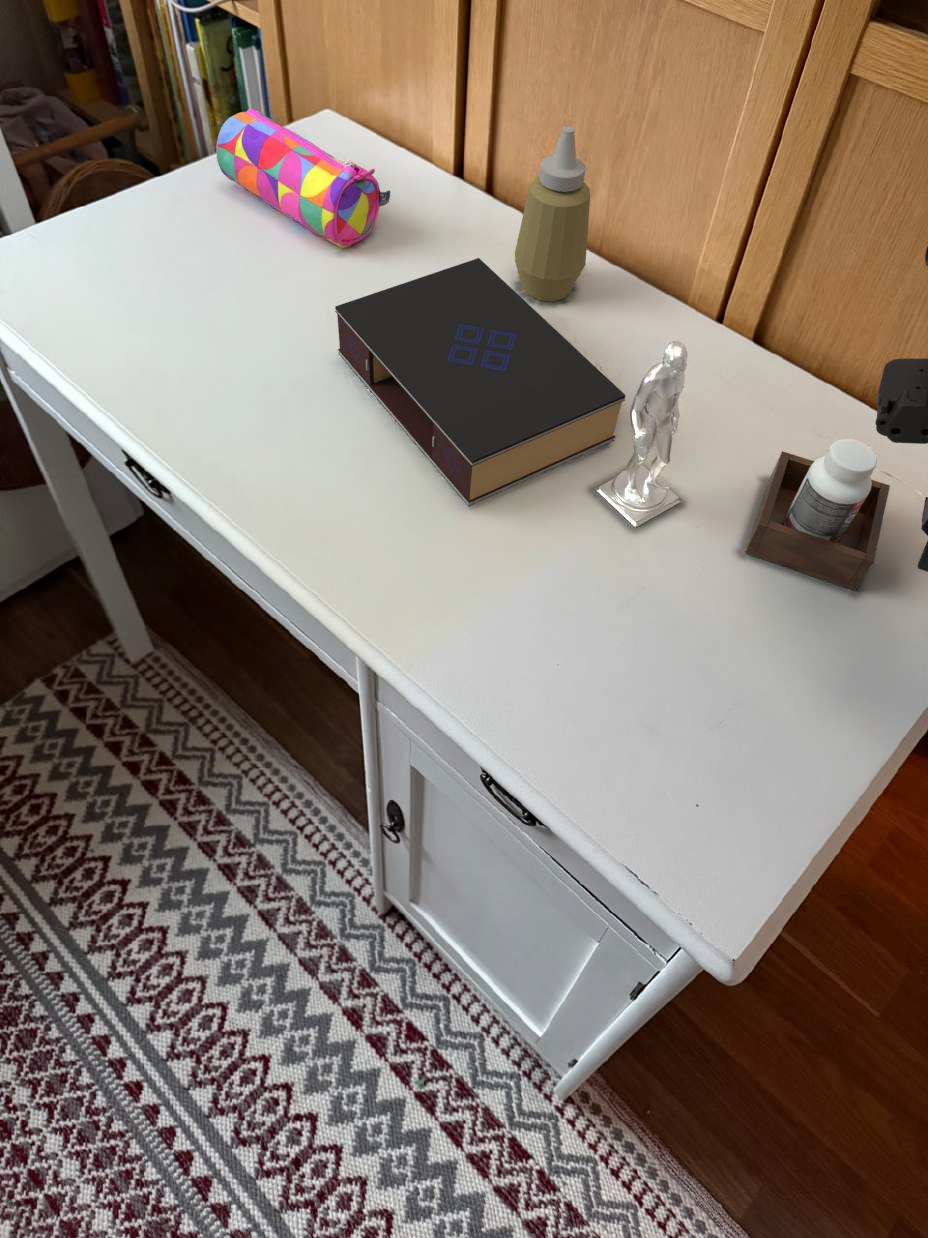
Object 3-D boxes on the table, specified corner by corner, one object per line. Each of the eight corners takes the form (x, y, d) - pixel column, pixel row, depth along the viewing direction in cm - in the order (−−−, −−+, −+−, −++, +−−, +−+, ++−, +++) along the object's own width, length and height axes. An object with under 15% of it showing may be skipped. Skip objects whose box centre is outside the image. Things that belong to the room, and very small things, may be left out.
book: (467, 512, 84) (471, 461, 79) (338, 359, 96) (334, 306, 90) (613, 446, 90) (626, 394, 85) (475, 310, 102) (479, 257, 96)
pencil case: (396, 229, 110) (395, 155, 103) (342, 263, 106) (337, 188, 98) (269, 163, 117) (260, 90, 110) (214, 192, 113) (201, 118, 106)
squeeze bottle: (497, 289, 104) (512, 131, 90) (535, 258, 108) (555, 100, 94) (557, 317, 102) (582, 159, 87) (593, 283, 106) (623, 126, 91)
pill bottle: (840, 558, 83) (887, 483, 75) (781, 545, 83) (821, 470, 75) (840, 515, 86) (884, 438, 78) (783, 503, 86) (821, 426, 78)
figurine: (613, 540, 83) (657, 386, 68) (574, 490, 87) (608, 333, 72) (687, 512, 86) (744, 357, 71) (646, 464, 89) (693, 307, 74)
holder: (871, 515, 87) (890, 485, 83) (854, 591, 81) (873, 562, 78) (768, 481, 89) (782, 450, 85) (744, 553, 83) (758, 523, 80)
